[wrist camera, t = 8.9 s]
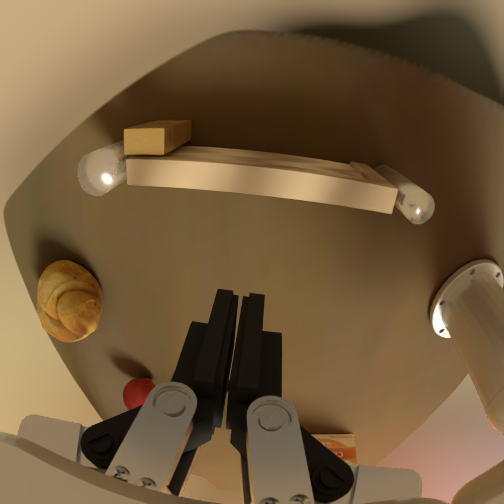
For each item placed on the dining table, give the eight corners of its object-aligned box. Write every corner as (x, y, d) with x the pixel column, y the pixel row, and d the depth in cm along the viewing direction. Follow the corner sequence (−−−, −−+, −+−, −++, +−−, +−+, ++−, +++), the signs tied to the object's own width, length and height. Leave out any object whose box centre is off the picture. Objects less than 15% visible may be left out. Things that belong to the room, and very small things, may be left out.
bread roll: (90, 332, 38) (67, 371, 31) (42, 293, 35) (14, 327, 28) (123, 288, 33) (94, 333, 26) (64, 238, 30) (26, 274, 23)
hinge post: (396, 166, 24) (438, 195, 17) (390, 190, 25) (428, 226, 18) (373, 161, 24) (410, 188, 17) (368, 186, 25) (401, 221, 18)
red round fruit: (164, 392, 44) (152, 431, 37) (132, 382, 43) (118, 419, 36) (164, 374, 41) (151, 416, 34) (130, 363, 40) (113, 403, 33)
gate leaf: (366, 164, 23) (398, 189, 17) (362, 183, 24) (391, 214, 18) (162, 141, 23) (126, 159, 17) (162, 161, 24) (127, 184, 18)
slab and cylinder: (191, 119, 23) (159, 129, 16) (190, 169, 25) (159, 199, 18) (124, 120, 23) (74, 134, 16) (125, 167, 25) (79, 195, 18)
